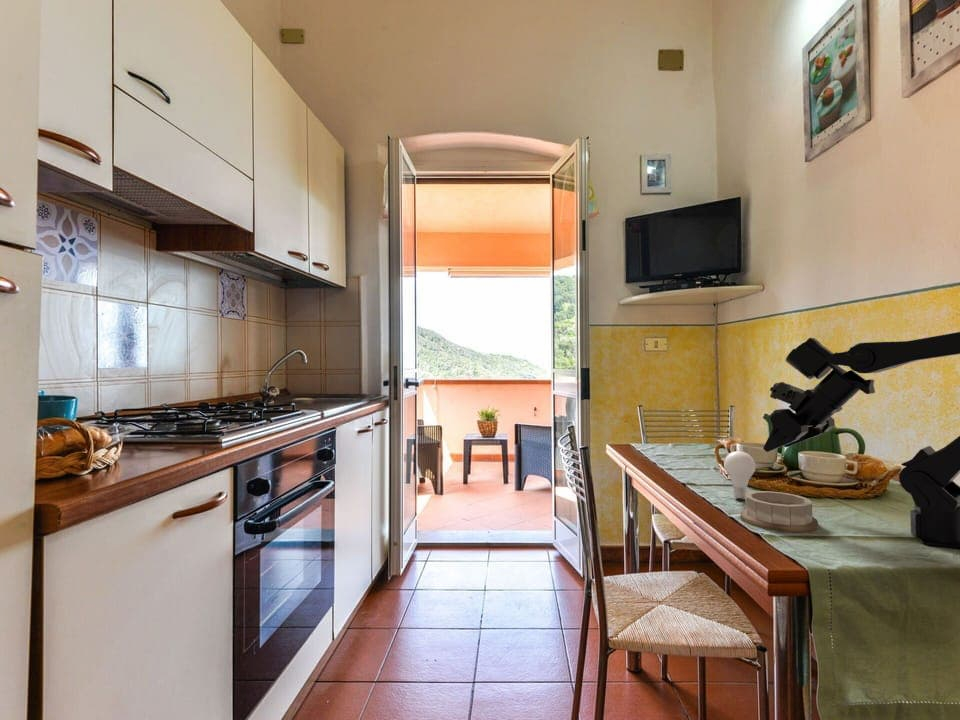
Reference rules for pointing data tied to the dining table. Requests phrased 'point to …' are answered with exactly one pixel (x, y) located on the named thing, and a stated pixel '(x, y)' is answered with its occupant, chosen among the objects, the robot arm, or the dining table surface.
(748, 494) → the holder
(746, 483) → the lightbulb
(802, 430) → the robot arm
